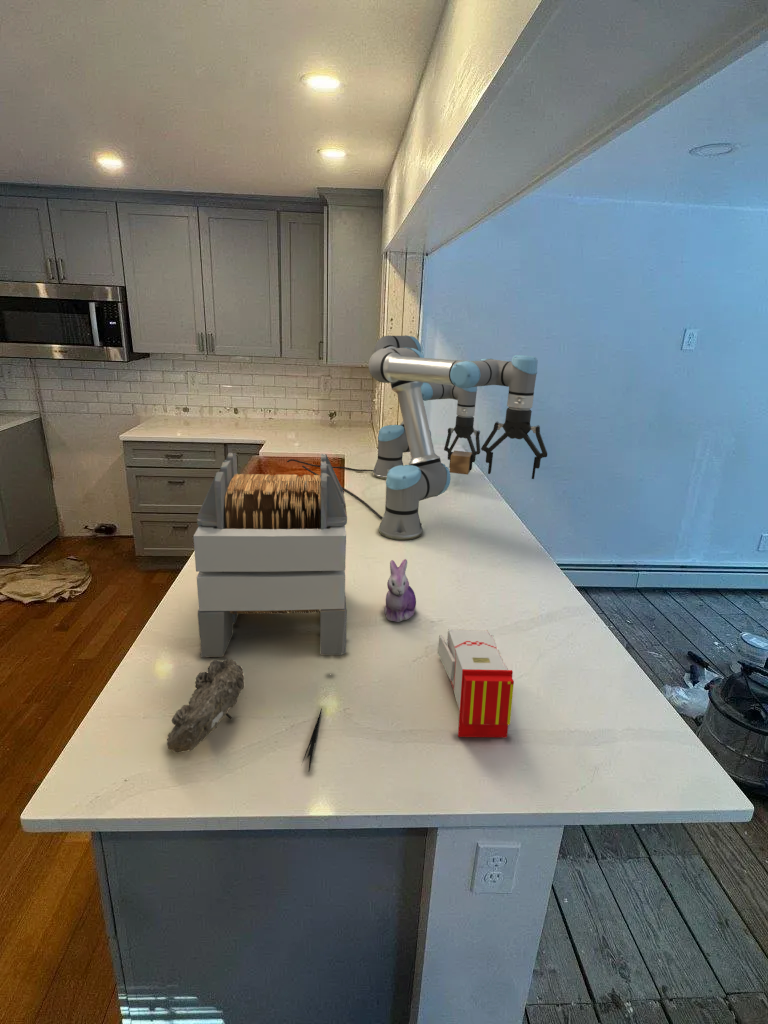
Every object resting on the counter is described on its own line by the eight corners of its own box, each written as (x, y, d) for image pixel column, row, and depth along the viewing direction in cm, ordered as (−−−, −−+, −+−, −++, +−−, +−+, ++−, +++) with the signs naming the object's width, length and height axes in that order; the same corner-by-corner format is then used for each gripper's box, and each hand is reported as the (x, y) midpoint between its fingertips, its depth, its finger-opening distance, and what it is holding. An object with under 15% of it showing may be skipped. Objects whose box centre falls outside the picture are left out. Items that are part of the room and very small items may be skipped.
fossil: (192, 660, 117) (244, 628, 112) (224, 691, 120) (276, 661, 115) (142, 746, 98) (202, 712, 93) (182, 779, 101) (242, 748, 96)
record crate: (222, 587, 156) (213, 443, 143) (341, 586, 160) (343, 445, 146) (198, 659, 125) (184, 483, 111) (346, 655, 129) (350, 484, 115)
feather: (331, 679, 122) (336, 673, 122) (307, 777, 96) (313, 769, 95) (324, 675, 122) (329, 669, 121) (298, 772, 95) (304, 764, 95)
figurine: (392, 627, 141) (395, 572, 136) (374, 608, 149) (376, 556, 144) (425, 619, 145) (429, 566, 140) (405, 601, 154) (408, 550, 149)
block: (449, 472, 244) (450, 455, 241) (452, 467, 252) (454, 450, 249) (467, 474, 242) (469, 457, 239) (470, 469, 250) (472, 452, 247)
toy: (488, 613, 130) (523, 677, 101) (484, 667, 133) (517, 744, 104) (435, 612, 130) (455, 676, 101) (432, 666, 133) (451, 743, 103)
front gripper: (476, 406, 172) (470, 473, 179) (561, 414, 166) (551, 483, 173) (479, 403, 179) (473, 468, 186) (561, 410, 173) (551, 476, 180)
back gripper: (439, 415, 238) (435, 467, 246) (489, 419, 233) (483, 473, 240) (442, 412, 245) (438, 463, 252) (491, 416, 240) (485, 468, 247)
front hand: (510, 475), depth 180 cm, fingers open, 13 cm apart
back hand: (460, 468), depth 246 cm, fingers closed on block, 8 cm apart
